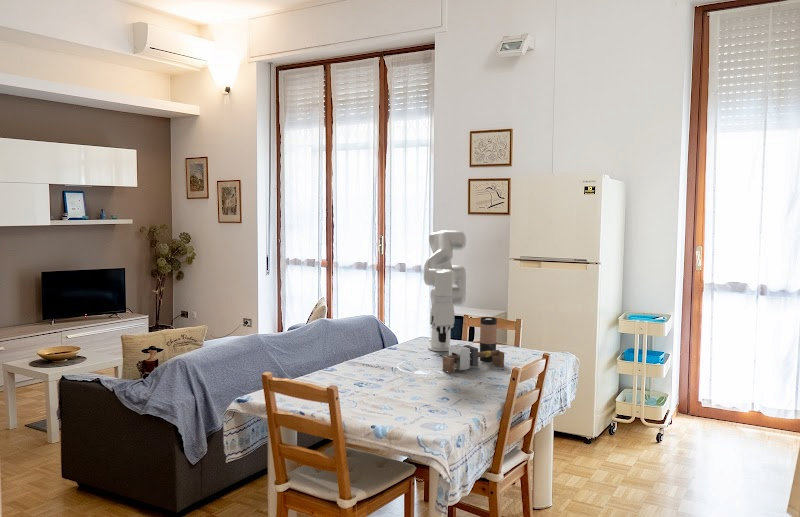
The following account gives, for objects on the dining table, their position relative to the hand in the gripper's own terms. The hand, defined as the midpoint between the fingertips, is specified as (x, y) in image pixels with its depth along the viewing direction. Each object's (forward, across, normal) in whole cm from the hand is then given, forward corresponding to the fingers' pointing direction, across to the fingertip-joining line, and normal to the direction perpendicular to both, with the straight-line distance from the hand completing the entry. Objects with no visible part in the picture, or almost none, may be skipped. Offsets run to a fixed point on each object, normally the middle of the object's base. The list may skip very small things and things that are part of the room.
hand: (442, 341), depth 289 cm
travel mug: (+13, -32, -11) cm, 37 cm away
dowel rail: (+13, -17, -1) cm, 22 cm away
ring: (+12, -15, -1) cm, 19 cm away
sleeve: (+12, -9, -1) cm, 15 cm away
